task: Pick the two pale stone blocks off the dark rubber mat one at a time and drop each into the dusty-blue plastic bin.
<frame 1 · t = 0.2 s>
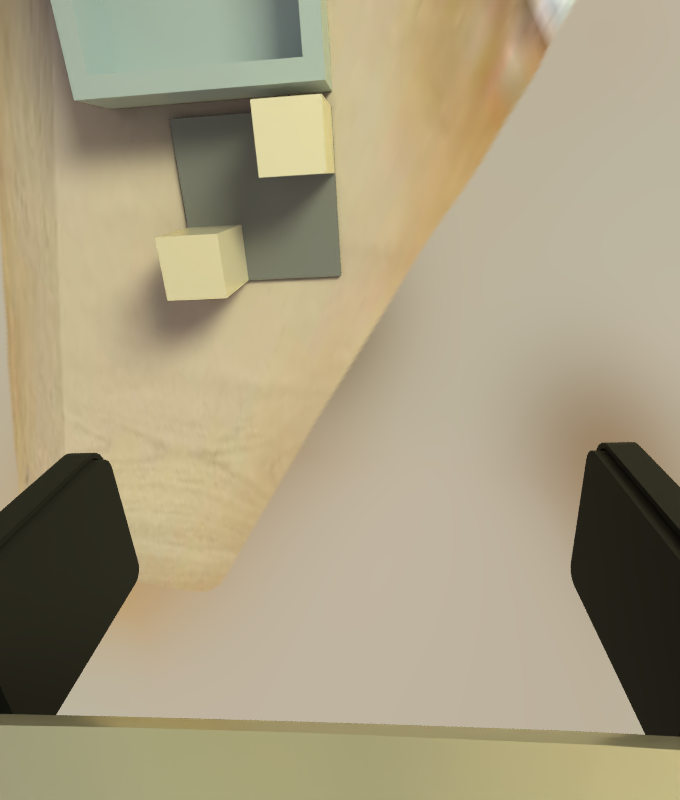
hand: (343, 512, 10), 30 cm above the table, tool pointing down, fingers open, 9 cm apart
dark mat: (260, 201, 36), on the table
stone 1: (303, 142, 34), resting on dark mat
stone 2: (218, 254, 38), resting on dark mat
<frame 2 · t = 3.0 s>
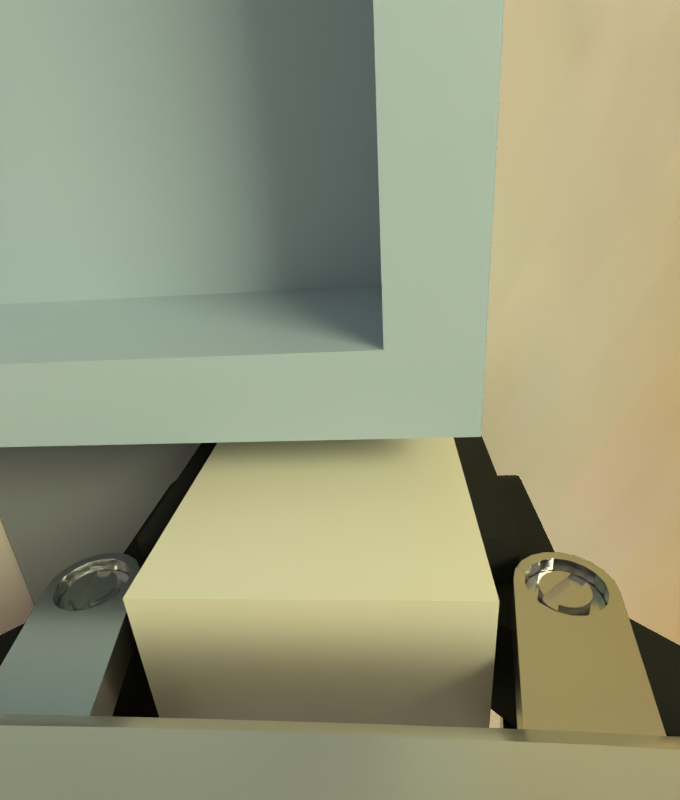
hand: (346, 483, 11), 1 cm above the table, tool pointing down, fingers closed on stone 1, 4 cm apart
dark mat: (225, 575, 14), on the table
stone 1: (348, 466, 12), resting on dark mat, touching gripper
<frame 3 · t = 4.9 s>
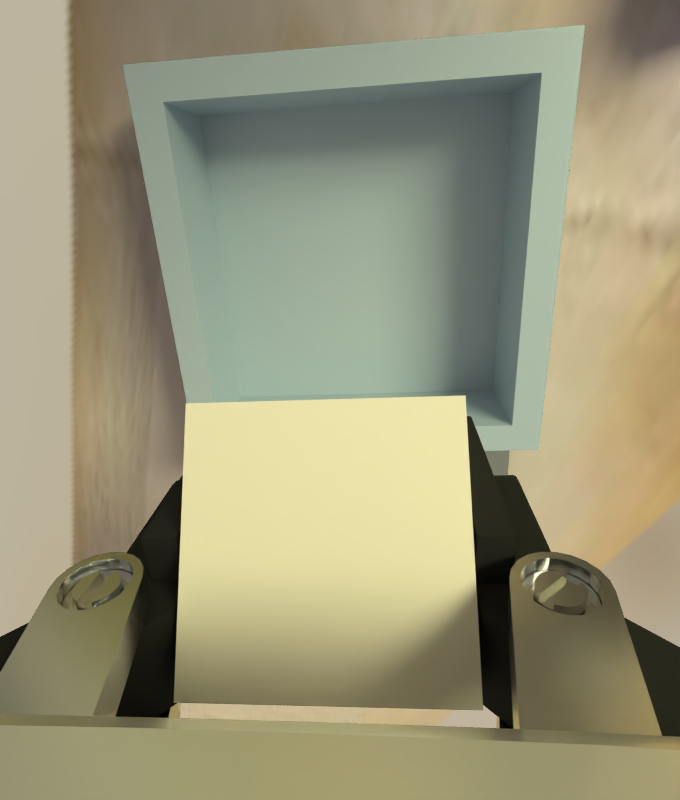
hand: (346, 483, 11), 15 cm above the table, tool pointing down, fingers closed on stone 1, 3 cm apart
dark mat: (404, 512, 29), on the table
blue bin: (359, 262, 24), on the table
stone 1: (352, 519, 13), point 14 cm above the table, tilted 33°, touching gripper
when the fingers open (4 cm above the table, at t = 6.9 s): stone 1 drops 2 cm, resting on blue bin.
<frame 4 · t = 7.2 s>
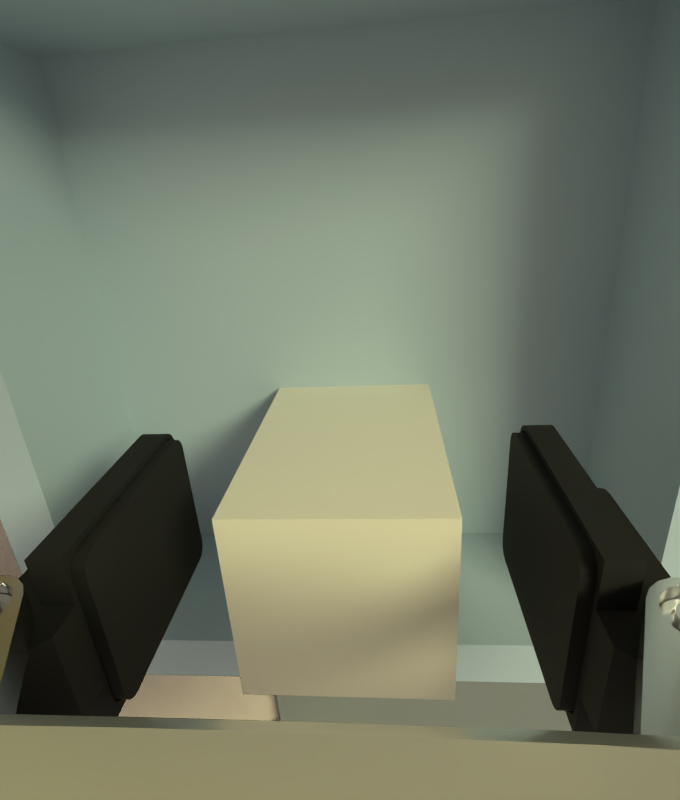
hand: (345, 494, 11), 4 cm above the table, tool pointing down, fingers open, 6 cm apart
dark mat: (424, 691, 19), on the table
blue bin: (349, 325, 13), on the table
stone 1: (356, 452, 14), point 1 cm above the table, touching blue bin
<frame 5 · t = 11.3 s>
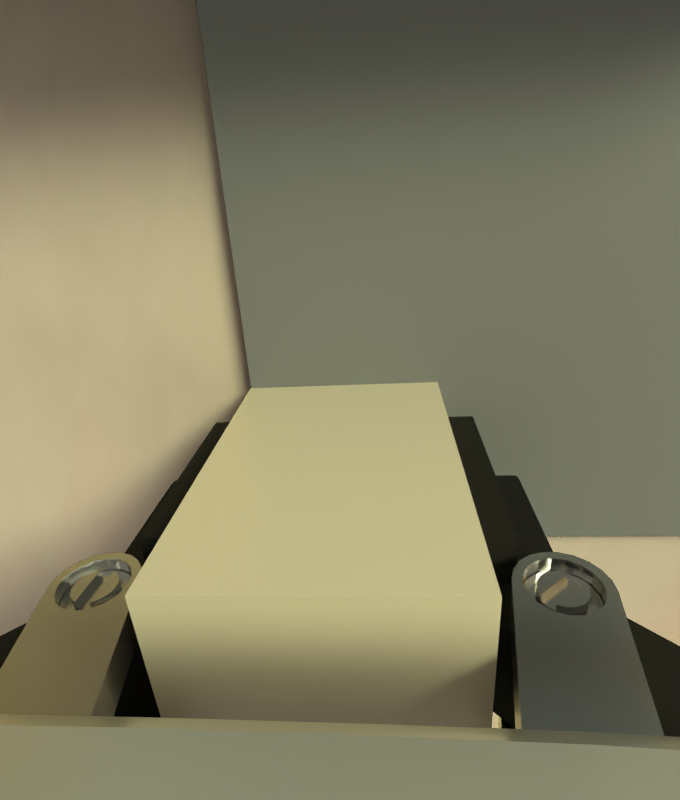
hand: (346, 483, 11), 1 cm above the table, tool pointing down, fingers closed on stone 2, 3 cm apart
dark mat: (513, 304, 10), on the table
stone 2: (347, 466, 12), resting on dark mat, touching gripper
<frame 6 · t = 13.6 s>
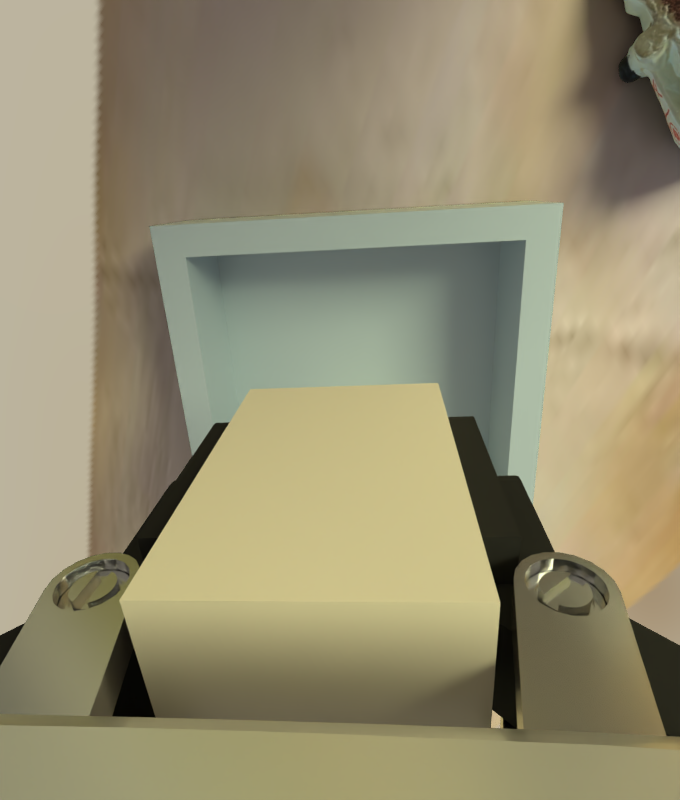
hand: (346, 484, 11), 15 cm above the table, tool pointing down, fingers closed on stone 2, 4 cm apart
blue bin: (361, 371, 26), on the table
stone 2: (348, 467, 12), point 14 cm above the table, touching gripper
when the fingers open (4 cm above the table, at t = 15.7 s): stone 2 drops 3 cm, resting on blue bin.
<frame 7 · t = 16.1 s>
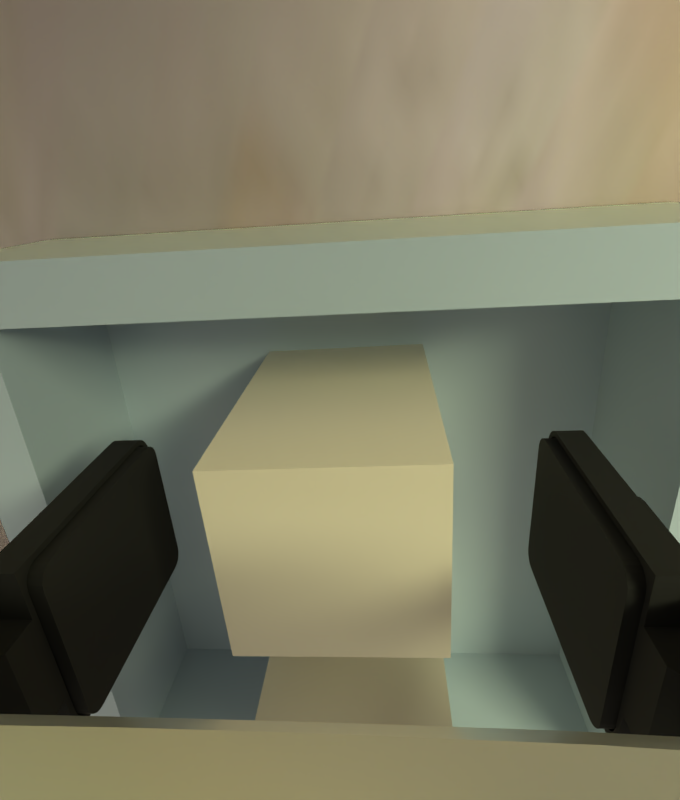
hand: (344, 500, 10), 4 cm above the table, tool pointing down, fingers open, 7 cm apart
blue bin: (358, 485, 15), on the table
stone 1: (364, 587, 16), resting on blue bin
stone 2: (350, 417, 14), resting on blue bin
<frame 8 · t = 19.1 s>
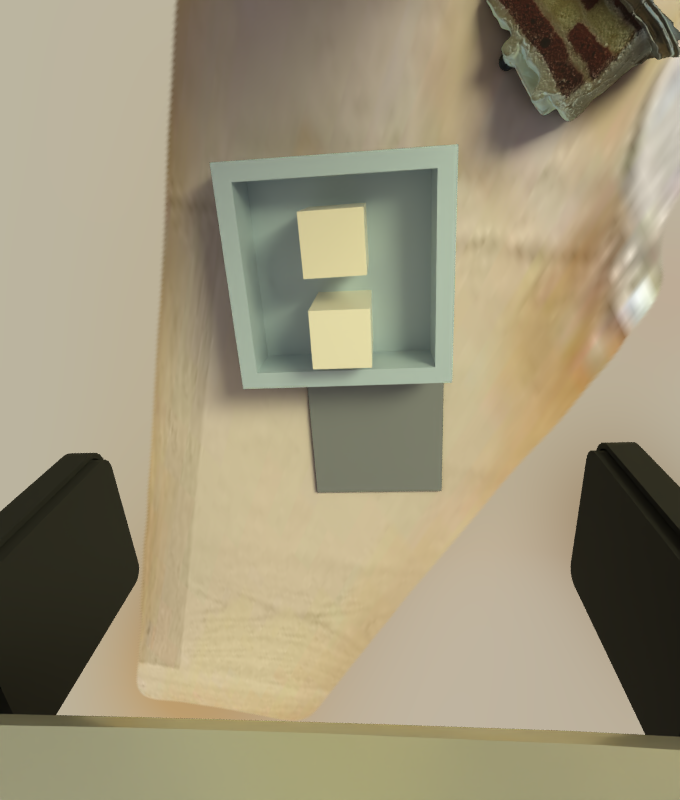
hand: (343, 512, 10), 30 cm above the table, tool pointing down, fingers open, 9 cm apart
dark mat: (376, 435, 43), on the table
blue bin: (343, 269, 38), on the table
stone 1: (346, 317, 39), resting on blue bin
stone 2: (339, 234, 36), resting on blue bin
chocolate cake: (549, 31, 31), on the table, touching arm
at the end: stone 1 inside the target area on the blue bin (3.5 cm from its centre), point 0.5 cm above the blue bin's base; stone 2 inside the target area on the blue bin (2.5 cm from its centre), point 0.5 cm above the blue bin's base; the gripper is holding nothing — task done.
